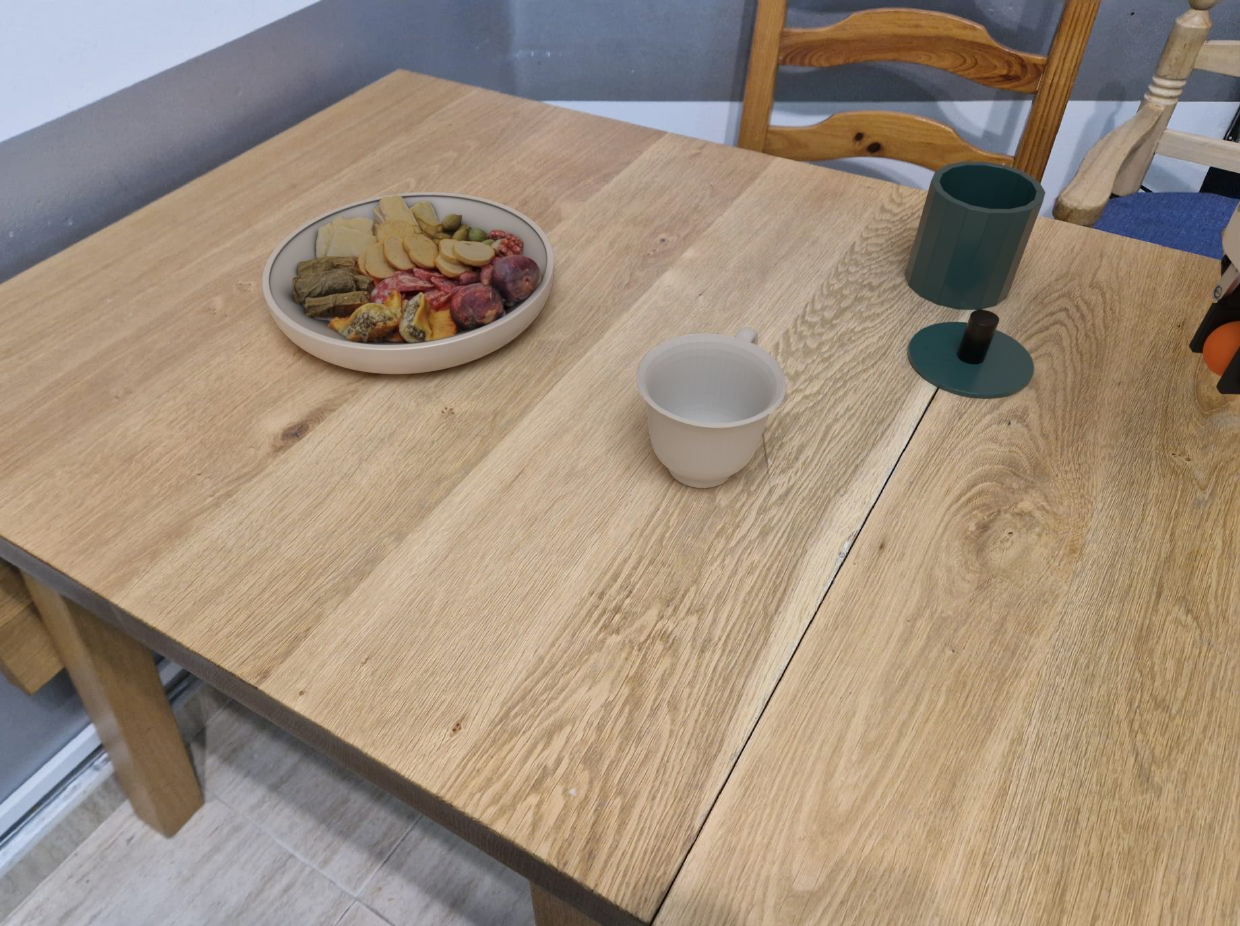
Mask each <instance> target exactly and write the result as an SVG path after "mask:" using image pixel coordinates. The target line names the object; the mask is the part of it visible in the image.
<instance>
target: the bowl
mask: <svg viewBox="0 0 1240 926" xmlns="http://www.w3.org/2000/svg"><path fill="white" fill-rule="evenodd" d="M261 276H262V277H261V286H262V287H261V288H262V293H263V294H262V295H263V297H264V301H265V303H266V307H267V309H268V312H269V314H270V315H271V317H272V319H273V321H274V322H275V324H276V325H277V326H278V327H279V329H280V330H281V331H282V333H283V334H284V335H285V336H286V337H287V338H288V339H289V340H290V341H291V342H292V343H294V344H295V345H296V346H298V347H299V348H301V349H302V350H303V351H305V352H306V353H308V354H309V355H312V356H314V357H315V358H318V359H320V360H321V361H325V362H327V363H329V364H331V365H335V366H338V367H340V368H345V369H349V370H353V371H359V372H365V373H371V374H383V375H411V374H421V373H428V372H435V371H441V370H446V369H450V368H454V367H457V366H460V365H465V364H467V363H470V362H474V361H475V360H478V359H481V358H483V357H485V356H487V355H489V354H491V353H493V352H495V351H497V350H499V349H501V348H502V347H505V346H506V345H508V344H509V343H510V342H511V341H513V340H515V339H516V338H517V337H519V336H520V335H521V334H522V333H523V332H525V330H526V329H527V328H529V326H530V325H531V324H532V323H533V322H534V321H535V320H536V318H537V317H538V316H539V314H540V313H541V311H542V310H543V308H544V306H545V305H546V303H547V301H548V298H549V297H550V294H551V291H552V287H553V283H554V277H555V254H554V249H553V245H552V243H551V241H550V239H549V238H548V236H547V234H546V233H545V232H544V230H543V229H542V228H541V227H540V226H539V225H538V224H537V222H535V221H534V220H532V219H531V218H530V217H529V216H527V215H526V214H524V213H522V212H520V211H518V210H517V209H514V208H513V207H511V206H508V205H506V204H504V203H500V202H498V201H495V200H492V199H489V198H484V197H480V196H475V195H469V194H464V193H455V192H445V191H444V192H443V191H413V192H401V193H400V192H399V193H393V194H385V195H379V196H373V197H369V198H366V199H361V200H357V201H354V202H351V203H347V204H344V205H341V206H339V207H336V208H333V209H331V210H329V211H326V212H323V213H321V214H320V215H317V216H316V217H314V218H311V219H310V220H308V221H307V222H305V223H303V224H301V225H300V226H299V227H297V228H295V229H294V230H293V231H292V232H290V233H289V234H288V235H287V236H285V238H284V239H282V240H281V241H280V242H279V243H278V245H277V246H276V247H275V248H274V250H272V252H271V254H270V255H269V257H268V259H267V261H266V262H265V265H264V268H263V271H262V275H261Z"/></svg>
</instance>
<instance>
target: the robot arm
mask: <svg viewBox="0 0 1240 926" xmlns="http://www.w3.org/2000/svg"><path fill="white" fill-rule="evenodd" d="M1220 238H1221V239H1220V240H1221V247H1222V248H1221V249H1222V258H1221V261H1220V278H1219V280H1218V281H1217V282H1216V284H1215V285H1214V287H1213V289H1212V292H1211V296H1212V299H1213V301H1215V302H1211V304H1210V306H1209V308H1208V309H1207V311H1206V313H1205V315H1204V317H1203V318H1202V321H1201V323H1200V324H1199V326H1198V327H1197V330H1196V331H1195V333H1194V335H1193V337H1192V339H1191V340H1190V342H1189V344H1188V348H1189V349H1190V350H1191V352H1192V353H1194V354H1203V347H1204V344H1205V342H1206V339H1207V338H1208V336H1209V335H1210V334H1211V333H1212V332H1213V331H1214V330H1215V329H1217V328H1218V327H1220V326H1222V325H1224V324H1227V323H1230V322H1235V321H1240V201H1239V202H1238V203H1237V205H1236V207H1235V209H1234V211H1233V213H1232V214H1231V217H1230V219H1229V221H1228V223H1227V225H1225V226H1224V227H1223V228H1222V230H1221V233H1220ZM1215 388H1216V389H1217V392H1218V393H1219V394H1220V395H1240V347H1239V348H1238V350H1237V352H1236V353H1235V355H1234V357H1233V358H1232V360H1231V362H1230V363H1229V365H1228V367H1227V368H1226V370H1225V371H1224V373H1223V375H1222V376H1220V378H1219V380H1218V381H1217V384H1216V386H1215Z"/></svg>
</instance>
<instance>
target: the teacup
mask: <svg viewBox="0 0 1240 926" xmlns="http://www.w3.org/2000/svg"><path fill="white" fill-rule="evenodd" d="M758 344H759V335H758V332H757V331H756V330H755V329H754V328H751V327H746V326H744V327H741V328H740V329H739V330H738V331H737V332H736V334H735V336H733V335H729V334H728V335H727V334H723V333H714V332H697V333H696V332H695V333H688V334H684V335H679V336H676V337H673V338H670V339H667V340H664V341H663V342H661V343H658V344H657V345H655V346H654V347H652V348H651V349H649V350H648V351H647V352H646V353H645V354H644V355H643V357H642V358H641V359H640V361H639V362H638V365H637V367H636V371H635V381H636V386H637V389H638V391H639V393H640V395H641V397H642V398H643V399H644V400H645V403H646V404H645V405H646V414H647V415H646V416H647V425H648V426H647V427H648V433H649V438H650V439H649V440H650V444H651V446H652V449H653V452H654V454H655V456H656V457H657V459H658V460H659V461H660V462H661V464H663V466H665V468H667V469H668V472H669V473H670V475H671V476H672V477H673V478H674V479H675V480H676V481H677V482H679V483H681V484H683V485H685V486H687V487H692V488H697V489H710V488H715V487H718V486H720V485H722V484H724V483H725V482H726V481H728V480H729V479H730V477H731V476H733V475H735V474H736V473H738V472H739V471H741V470H742V469H744V467H746V466H747V465H748V464H749V463H750V461H751V460H752V458H753V457H754V455H755V453H756V451H757V449H758V447H759V445H760V443H761V440H762V436H763V434H764V431H765V429H766V425H767V422H768V419H769V416H770V414H772V412H774V411H775V410H776V409H777V408H778V407H779V405H780V404H782V402H783V400H784V398H785V395H786V392H787V379H786V374H785V372H784V369H783V368H782V367H781V364H779V362H778V361H777V360H776V359H775V358H774V357H773V356H772V355H771V353H769V352H767V351H766V350H765V349H764V348H762V347H760V346H758Z"/></svg>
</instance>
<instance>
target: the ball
mask: <svg viewBox="0 0 1240 926" xmlns="http://www.w3.org/2000/svg"><path fill="white" fill-rule="evenodd" d="M1239 347H1240V321H1235V322H1230V323H1227V324H1224V325H1222V326H1220V327H1218V328H1217V329H1215V330H1214V331H1213V332H1212V333H1211V334H1210V335H1209V336H1208V338H1207V339H1206V342H1205V344H1204V347H1203V353H1202V358H1203V361H1204V363H1205V365H1206V367H1207V368H1208V369H1209V370H1210V371H1211V372H1212V373H1214V374H1215V375H1217V376H1218V377H1221V376H1222V375H1223V373H1224V371H1225V370H1226V368H1227V367H1228V365H1229V363H1230V362H1231V360H1232V358H1233V357H1234V355H1235V353H1236V352H1237V350H1238V348H1239Z"/></svg>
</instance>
